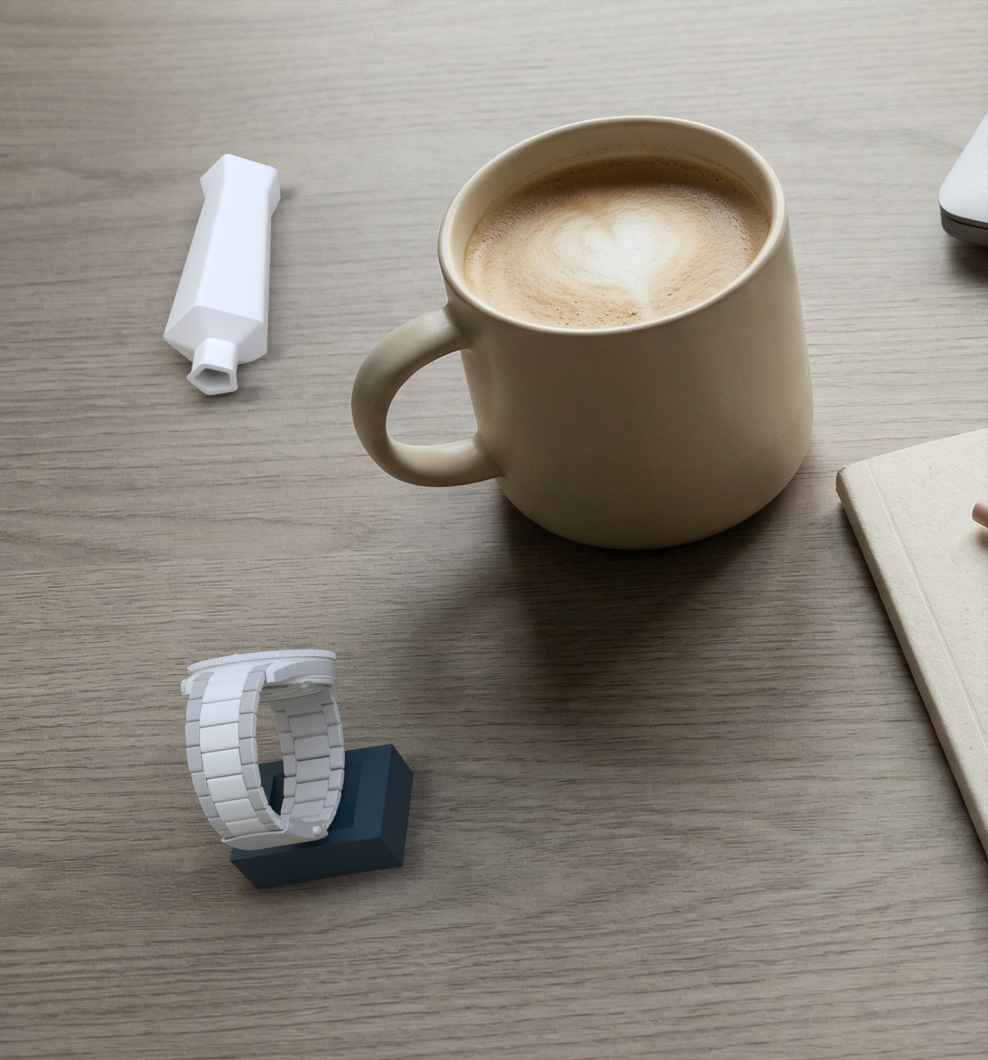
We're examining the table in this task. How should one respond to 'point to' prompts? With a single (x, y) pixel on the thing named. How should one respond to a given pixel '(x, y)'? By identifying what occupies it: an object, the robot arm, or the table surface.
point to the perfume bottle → (226, 275)
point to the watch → (291, 771)
